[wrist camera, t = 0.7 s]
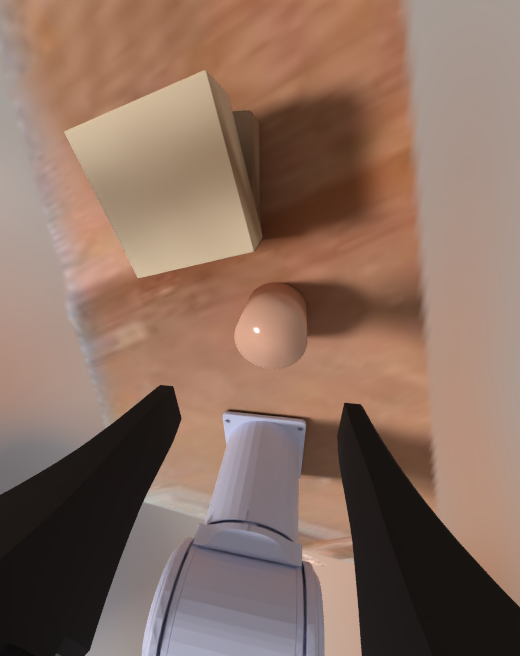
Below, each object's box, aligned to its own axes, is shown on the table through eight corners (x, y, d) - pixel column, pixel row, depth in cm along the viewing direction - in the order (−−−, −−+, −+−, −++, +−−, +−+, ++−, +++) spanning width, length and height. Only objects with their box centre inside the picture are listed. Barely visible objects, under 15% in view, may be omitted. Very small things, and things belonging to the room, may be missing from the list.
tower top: (262, 236, 14) (253, 251, 11) (165, 260, 15) (137, 278, 13) (228, 94, 11) (205, 69, 8) (113, 140, 12) (64, 131, 10)
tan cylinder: (304, 337, 20) (304, 371, 16) (248, 334, 20) (236, 366, 17) (309, 283, 17) (310, 309, 14) (245, 281, 18) (232, 305, 15)
